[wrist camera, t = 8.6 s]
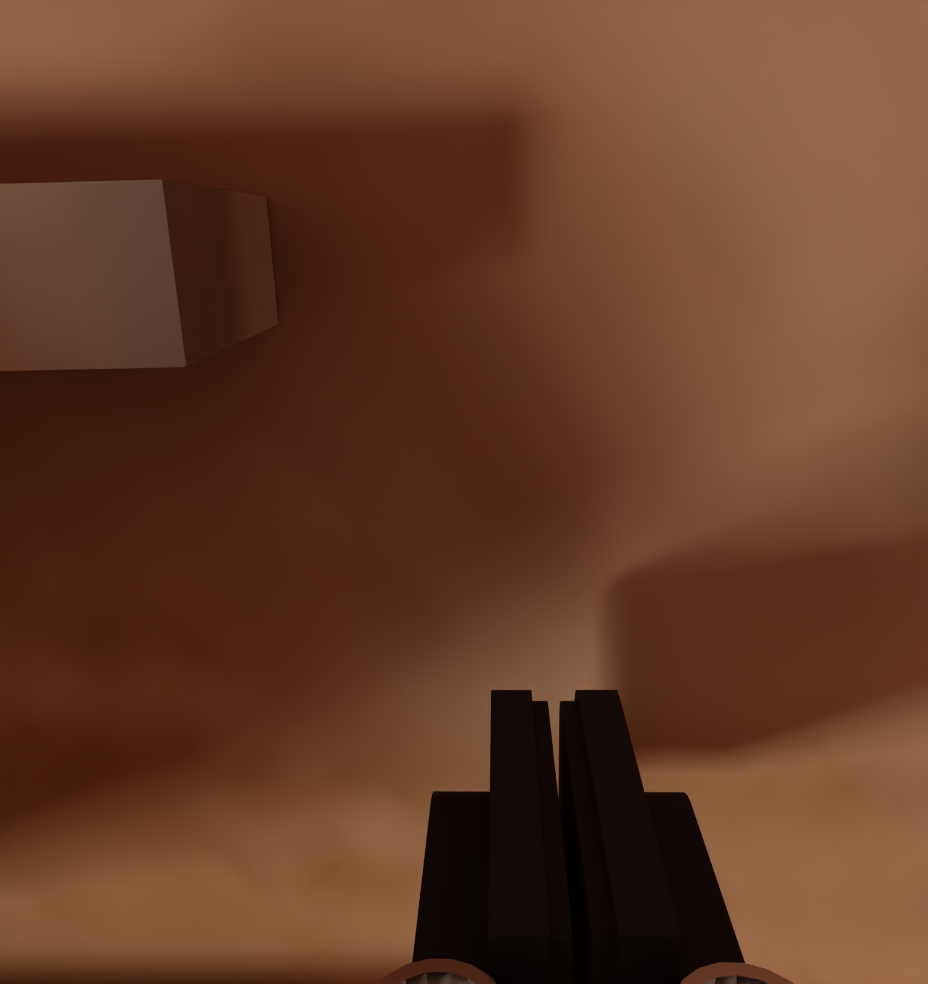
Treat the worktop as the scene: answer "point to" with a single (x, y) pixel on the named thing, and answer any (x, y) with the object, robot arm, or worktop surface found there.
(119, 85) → the worktop surface
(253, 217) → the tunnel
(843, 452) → the worktop surface
